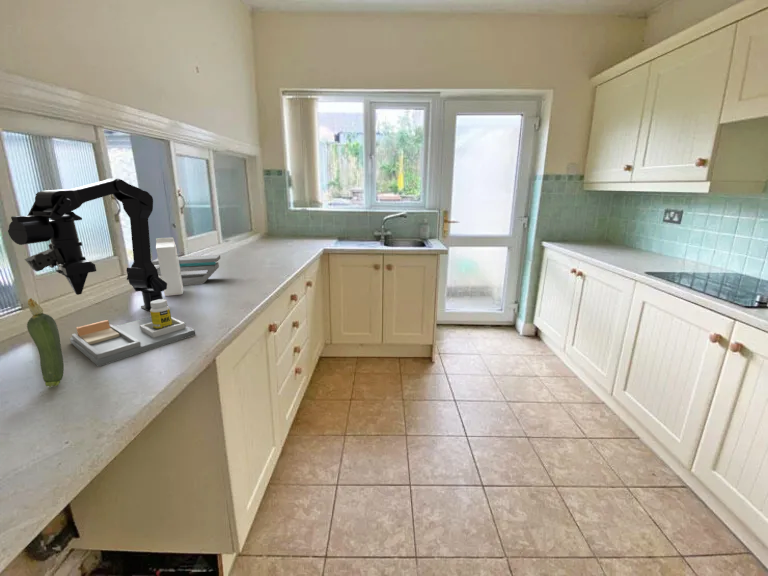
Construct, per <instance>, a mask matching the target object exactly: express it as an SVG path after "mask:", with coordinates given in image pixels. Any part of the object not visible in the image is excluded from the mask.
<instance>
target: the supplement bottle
mask: <svg viewBox="0 0 768 576" xmlns="http://www.w3.org/2000/svg"><path fill="white" fill-rule="evenodd" d="M167 301H168V300H167V298H165V299H164V298H163V299H158V300H154V301H151V302H150V304H151V307H152V308H151V309H150V313H149V314H150V317H151V318H152V323H153V329H154V331H156V330H159V329H163V328H166V327H170V326H173V325H172V319H171V317H172V315H171V308H170V306H169V305H168V302H167ZM167 305H168V306H167Z"/></svg>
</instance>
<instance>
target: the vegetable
mask: <svg viewBox="0 0 768 576" xmlns="http://www.w3.org/2000/svg"><path fill="white" fill-rule="evenodd" d="M27 306H28V309H29V312H30V313H31V315H32V316H31V317H30V318H29V320H28V321H27V323H26V328H27V329H26V330H27V331H28V333H29V336H30V337H31V339H32V341H33V342H34V344H35V346H36V349H37V351H38V356H39V359H40V369H41V373H42V374H41V376H42V379H43V381H44V382H45V383H44V384H45V386H46V387H49V388H52V387H57V386H59V385H60V383H61V381H62V379H63V377H64V357H63V352H62V345H61V338H60V337H61V336H60V333H59V329H58V325H57V322H56V321H55V319H54V318H53V317H52V316H51V315H50V314H47V313H44V310H43V308H42V306H41V305H40V304H38V303H37V301H35V300H34V299H33V298H29V299H28V300H27Z"/></svg>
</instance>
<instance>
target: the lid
mask: <svg viewBox="0 0 768 576" xmlns="http://www.w3.org/2000/svg"><path fill="white" fill-rule="evenodd" d="M75 328H76V332H77V333H76V334H77V335H78V336H79V337H80V338H82V339H83V340H84V341H85V342H87V343H88V344H89V345H91V344H94V343H98V342H102V341H105V340H109V339H112V338H116V337H119V336H120V335H119V333H117V332H116V331H114V330H113V329H111V328H110V322H109V320H108V319H106V320H101V321H97V322H93V323H89V324H84V325H80V326H76V327H75Z"/></svg>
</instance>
